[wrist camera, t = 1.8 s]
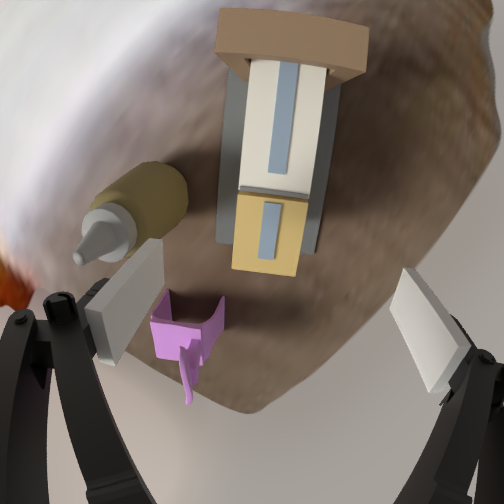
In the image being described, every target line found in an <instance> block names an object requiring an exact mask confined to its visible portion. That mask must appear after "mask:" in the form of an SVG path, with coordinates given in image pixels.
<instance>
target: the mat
mask: <svg viewBox="0 0 504 504" xmlns="http://www.w3.org/2000/svg"><path fill="white" fill-rule="evenodd" d="M248 85H249V82H243V81H242V80H241V78H240V77H239V76H238V75H237V74H236V73H235V72H234V71H233V70H232V69H231V68H230V67H229V71H228V80H227V90H226V100H225V110H224V121H223V133H222V145H221V157H220V171H219V185H218V200H217V216H216V235H215V243H224V244H232V245H234V232H235V220H236V208H237V197H238V193H239V190H238V188H239V176H240V166H241V155H242V144H243V134H244V124H245V114H246V104H247V95H248ZM340 91H341V84H339V85H337V86H335V87H333V88H331V89H329V90H327V91H325V92H324V96H323V104H322V112H321V120H320V127H319V135H318V142H317V149H316V156H315V163H314V169H313V176H312V182H311V189H310V195H309V199H307V201H308V209H307V215H306V220H305V226H304V232H303V237H302V243H301V248H300V253H304V254H312V255H314V250H315V245H316V240H317V235H318V230H319V225H320V220H321V215H322V209H323V204H324V198H325V193H326V187H327V181H328V175H329V169H330V163H331V157H332V150H333V144H334V137H335V130H336V123H337V115H338V107H339V99H340Z"/></svg>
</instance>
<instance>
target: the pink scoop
mask: <svg viewBox="0 0 504 504" xmlns="http://www.w3.org/2000/svg"><path fill="white" fill-rule="evenodd" d="M224 311H225V296H222V297H221V300H220V302H219V304H218V306H217V309H216V311H215V312H214V314H213V315H212V317H211V318H210V319H208V320H207V321H205V322H203V323H199V324H195V323H183V322H175V321H172V313H171V304H170V294H169V289H166V291H165V293H164V294H163V296H162V298H161V300H160V302H159V303H158V305H157V306H156V308H155V309H154V310H153V311H152V313H151V321H150V325H151V330H152V334H153V339H154V344H155V351H156V355H157V358H162V359H168V360H176V361H179V365H180V372H181V377H182V381H183V385H184V388H185V392H186V405H188V404H190V403H192V400H193V393H192V384H196V385H197V382H198V373H199V365H203V363H204V360H207V359H208V357H209V355H210V353H211V350H212V348H213V345H214V343H215V341H216V339H217V337H218V336H219V335H220V334H221V333H222V332H223V331H224Z"/></svg>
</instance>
